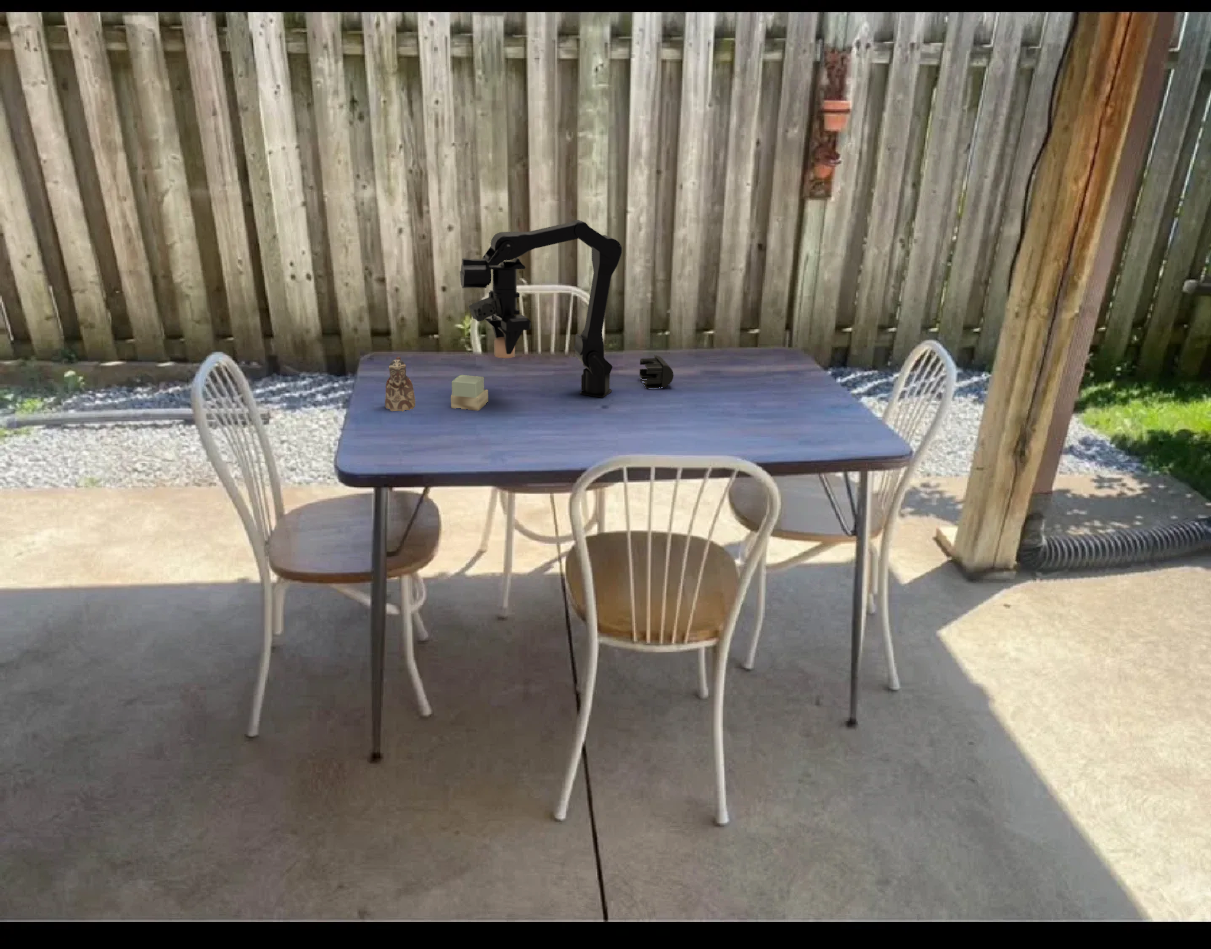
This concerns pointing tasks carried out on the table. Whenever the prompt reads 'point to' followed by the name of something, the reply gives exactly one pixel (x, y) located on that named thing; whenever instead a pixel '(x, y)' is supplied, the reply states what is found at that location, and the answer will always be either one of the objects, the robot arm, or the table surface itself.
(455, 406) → the base block
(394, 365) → the figurine
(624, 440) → the table surface
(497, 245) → the robot arm
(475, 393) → the top block
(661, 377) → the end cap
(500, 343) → the orange-brown short cylinder
